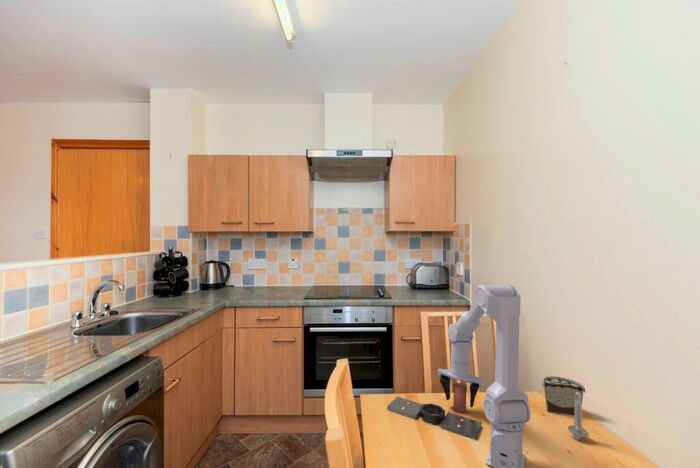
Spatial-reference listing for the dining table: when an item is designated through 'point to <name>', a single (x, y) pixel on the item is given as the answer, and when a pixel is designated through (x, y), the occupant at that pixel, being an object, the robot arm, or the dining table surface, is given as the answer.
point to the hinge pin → (459, 398)
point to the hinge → (436, 416)
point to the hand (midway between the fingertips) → (459, 402)
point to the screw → (578, 420)
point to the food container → (561, 394)
